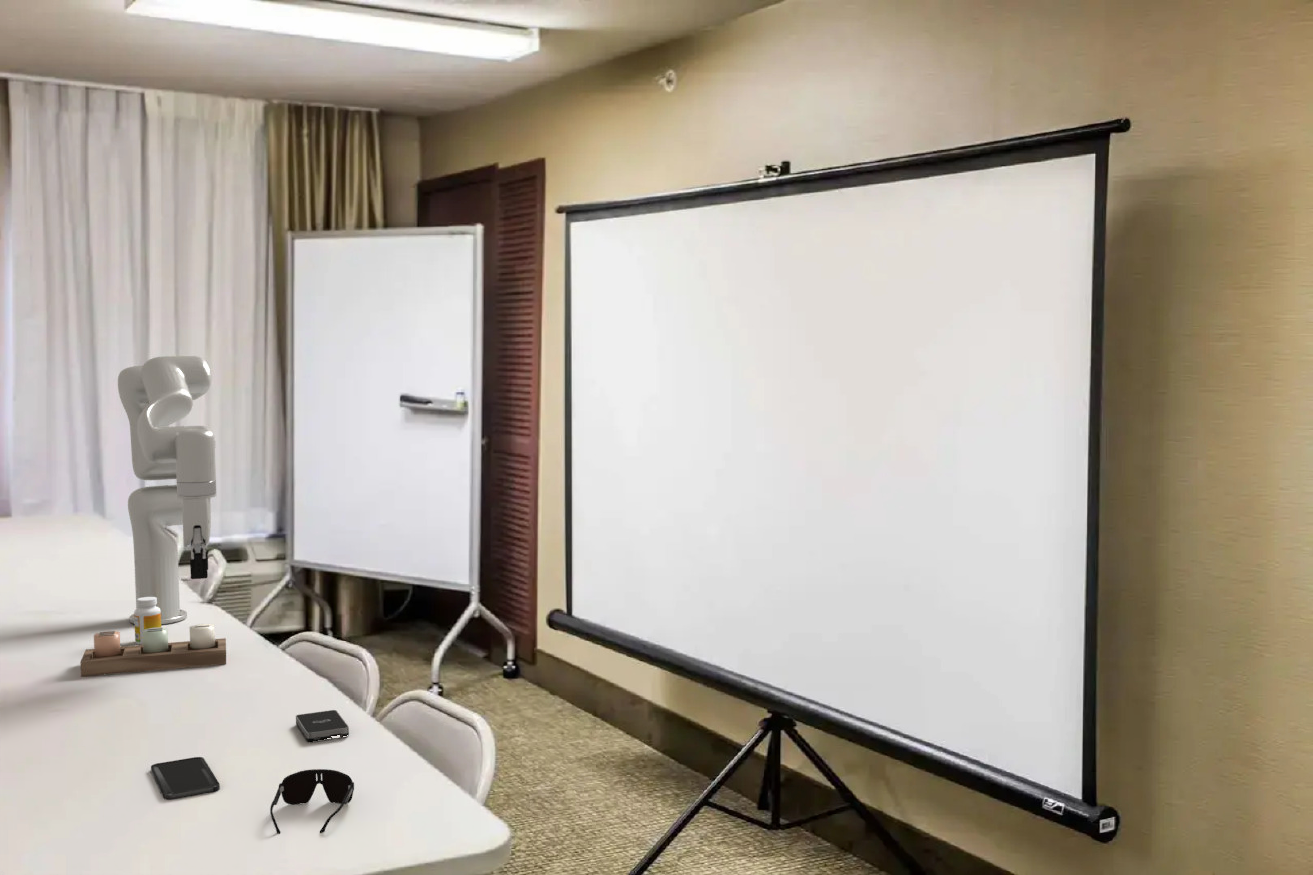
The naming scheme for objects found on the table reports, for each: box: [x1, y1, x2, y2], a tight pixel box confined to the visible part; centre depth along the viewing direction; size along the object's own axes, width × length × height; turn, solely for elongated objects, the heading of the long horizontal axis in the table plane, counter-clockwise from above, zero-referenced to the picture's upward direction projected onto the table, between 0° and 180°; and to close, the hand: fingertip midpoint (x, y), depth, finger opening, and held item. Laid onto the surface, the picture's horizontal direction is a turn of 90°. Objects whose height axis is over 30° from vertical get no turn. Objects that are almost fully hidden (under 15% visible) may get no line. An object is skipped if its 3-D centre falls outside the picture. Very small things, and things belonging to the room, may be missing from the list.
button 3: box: [93, 630, 121, 657], centre depth 248 cm, size 5×5×4 cm
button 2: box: [142, 627, 169, 653], centre depth 251 cm, size 5×5×4 cm
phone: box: [150, 756, 220, 801], centre depth 186 cm, size 8×1×15 cm
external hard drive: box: [295, 709, 350, 743], centre depth 209 cm, size 7×11×2 cm, turn 26°
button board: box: [79, 637, 227, 677], centre depth 251 cm, size 10×27×3 cm, turn 109°
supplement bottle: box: [133, 597, 162, 645], centre depth 269 cm, size 5×5×10 cm
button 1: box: [189, 623, 216, 649], centre depth 254 cm, size 5×5×4 cm
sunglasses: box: [269, 768, 355, 835], centre depth 171 cm, size 10×12×5 cm
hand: (199, 574), depth 253 cm, fingers open, 7 cm apart
